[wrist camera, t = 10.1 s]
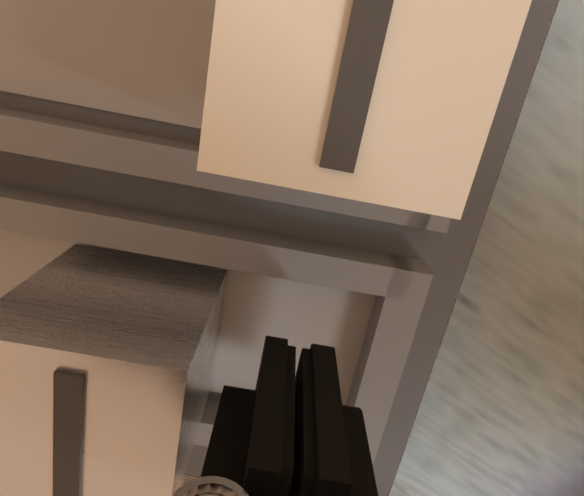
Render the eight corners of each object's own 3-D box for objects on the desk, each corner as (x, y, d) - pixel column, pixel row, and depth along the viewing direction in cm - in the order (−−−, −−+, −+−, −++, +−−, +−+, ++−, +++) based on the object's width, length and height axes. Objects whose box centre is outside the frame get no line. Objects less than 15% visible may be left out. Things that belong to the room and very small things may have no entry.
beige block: (227, 270, 12) (186, 375, 8) (209, 393, 13) (165, 540, 9) (75, 243, 12) (-53, 335, 8) (73, 370, 13) (-38, 509, 9)
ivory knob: (449, -17, 10) (566, -96, 5) (399, 167, 11) (462, 221, 7) (264, -56, 10) (233, -169, 5) (237, 136, 11) (195, 171, 7)
